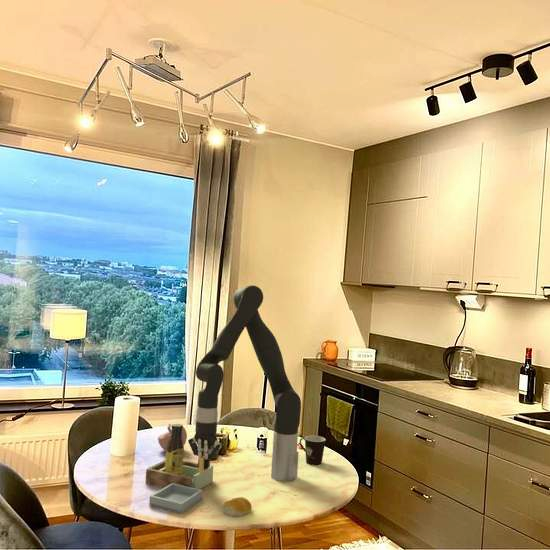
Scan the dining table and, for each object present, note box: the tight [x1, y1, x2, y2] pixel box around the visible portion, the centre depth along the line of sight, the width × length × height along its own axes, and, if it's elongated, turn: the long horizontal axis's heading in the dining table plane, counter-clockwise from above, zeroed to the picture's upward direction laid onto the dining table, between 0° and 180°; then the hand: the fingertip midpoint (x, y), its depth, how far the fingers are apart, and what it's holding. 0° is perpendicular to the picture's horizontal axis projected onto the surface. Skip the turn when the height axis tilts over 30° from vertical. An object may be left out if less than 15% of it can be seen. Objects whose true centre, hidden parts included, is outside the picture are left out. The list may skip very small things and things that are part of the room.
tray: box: [148, 483, 204, 515], centre depth 170 cm, size 12×13×3 cm
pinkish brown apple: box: [157, 423, 188, 452], centre depth 221 cm, size 12×12×12 cm
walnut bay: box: [145, 459, 199, 489], centre depth 188 cm, size 18×15×5 cm
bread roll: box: [222, 497, 253, 517], centre depth 167 cm, size 8×9×4 cm
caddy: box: [159, 454, 214, 490], centre depth 187 cm, size 17×12×10 cm
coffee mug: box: [299, 435, 327, 467], centre depth 218 cm, size 12×9×10 cm
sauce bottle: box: [165, 423, 185, 476], centre depth 189 cm, size 7×6×20 cm
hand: (203, 468), depth 184 cm, fingers closed
